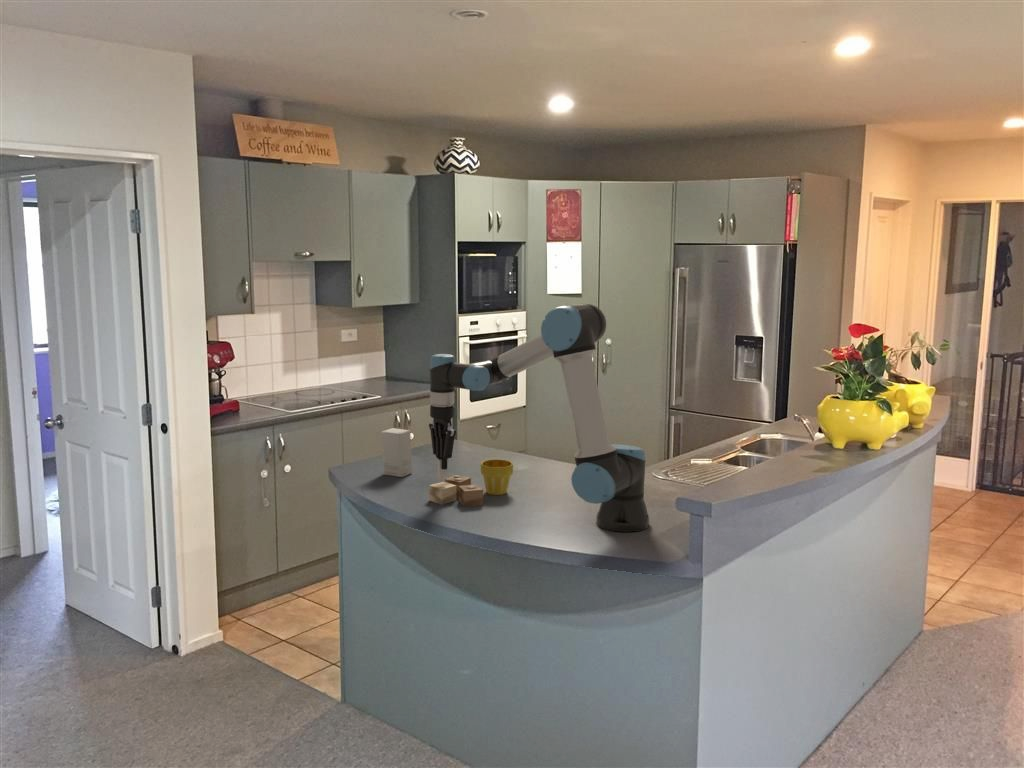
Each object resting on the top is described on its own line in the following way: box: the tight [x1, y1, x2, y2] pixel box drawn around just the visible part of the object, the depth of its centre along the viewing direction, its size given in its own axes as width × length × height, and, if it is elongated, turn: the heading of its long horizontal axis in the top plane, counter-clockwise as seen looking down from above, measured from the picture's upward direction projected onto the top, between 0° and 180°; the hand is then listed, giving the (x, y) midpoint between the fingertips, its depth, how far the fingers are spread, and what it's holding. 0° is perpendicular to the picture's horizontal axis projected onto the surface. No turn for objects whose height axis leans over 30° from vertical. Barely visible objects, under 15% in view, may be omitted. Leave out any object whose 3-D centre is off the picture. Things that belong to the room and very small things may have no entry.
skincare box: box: [380, 427, 413, 478], centre depth 297 cm, size 8×7×16 cm
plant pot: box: [480, 458, 514, 496], centre depth 277 cm, size 10×10×10 cm
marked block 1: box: [444, 474, 472, 498], centre depth 277 cm, size 6×6×5 cm
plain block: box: [428, 481, 457, 505], centre depth 269 cm, size 6×6×5 cm
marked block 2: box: [458, 483, 484, 508], centre depth 266 cm, size 6×6×5 cm
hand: (442, 478), depth 268 cm, fingers closed
